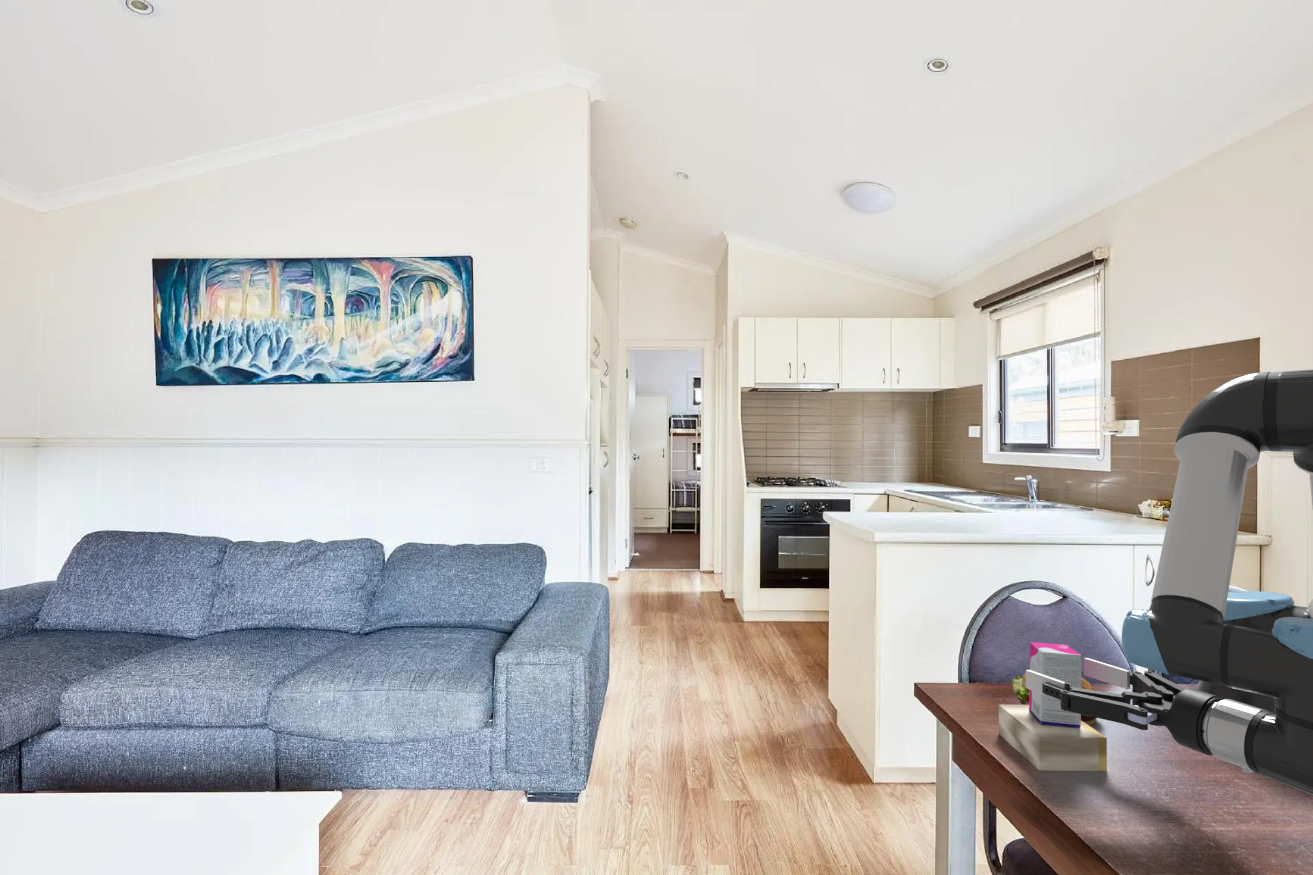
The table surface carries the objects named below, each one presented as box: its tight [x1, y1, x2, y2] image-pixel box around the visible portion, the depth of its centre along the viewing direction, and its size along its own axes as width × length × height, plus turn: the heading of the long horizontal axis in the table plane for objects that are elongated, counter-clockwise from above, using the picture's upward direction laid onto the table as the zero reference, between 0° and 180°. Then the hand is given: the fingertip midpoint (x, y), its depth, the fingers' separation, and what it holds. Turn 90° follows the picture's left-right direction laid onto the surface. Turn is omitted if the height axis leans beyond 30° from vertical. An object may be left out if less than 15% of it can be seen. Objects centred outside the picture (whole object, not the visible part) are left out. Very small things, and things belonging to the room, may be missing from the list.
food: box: [1011, 672, 1098, 727], centre depth 117 cm, size 14×14×8 cm
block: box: [998, 704, 1108, 772], centre depth 103 cm, size 12×10×5 cm
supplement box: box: [1029, 641, 1082, 728], centre depth 103 cm, size 6×6×12 cm
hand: (1057, 672), depth 101 cm, fingers open, 13 cm apart
